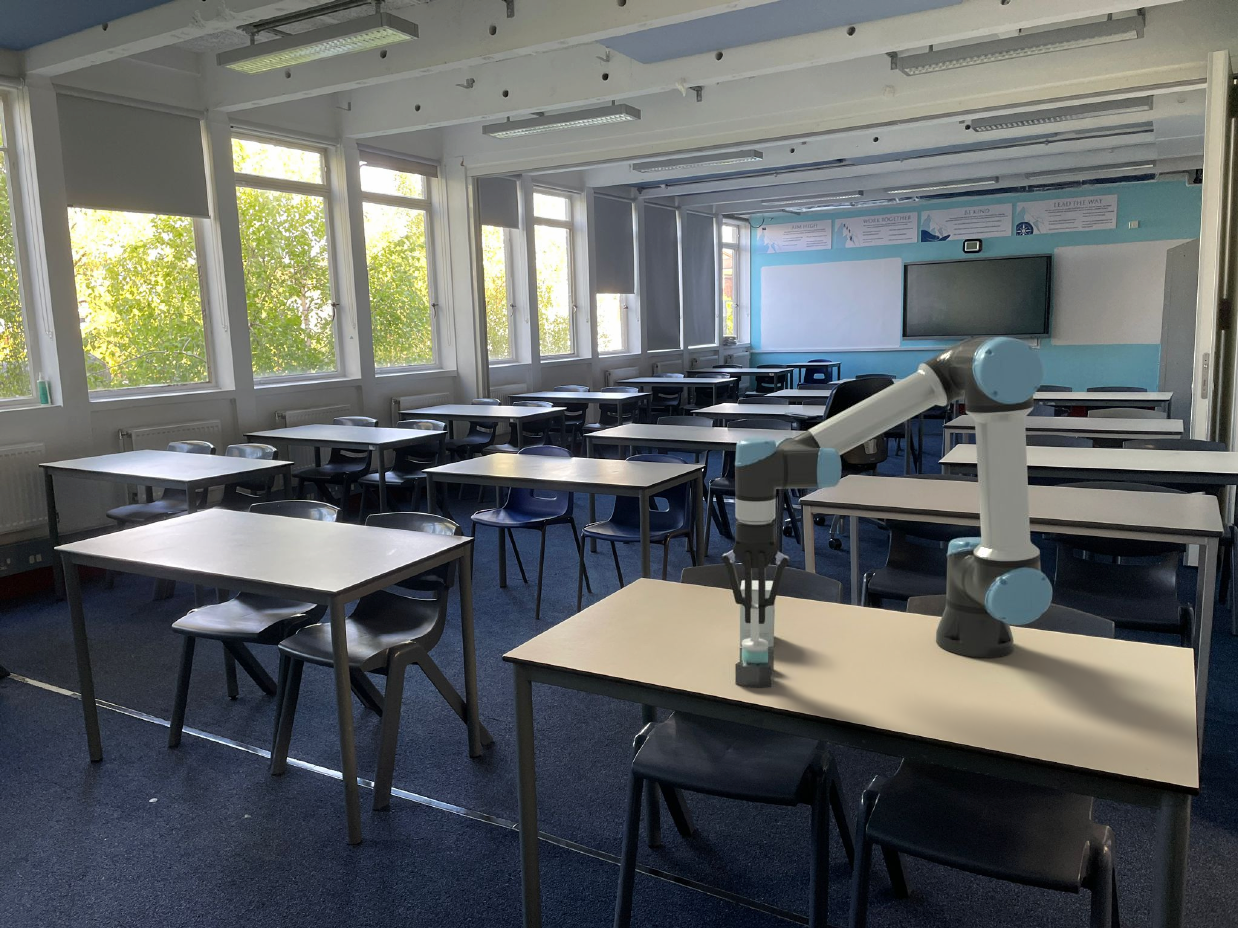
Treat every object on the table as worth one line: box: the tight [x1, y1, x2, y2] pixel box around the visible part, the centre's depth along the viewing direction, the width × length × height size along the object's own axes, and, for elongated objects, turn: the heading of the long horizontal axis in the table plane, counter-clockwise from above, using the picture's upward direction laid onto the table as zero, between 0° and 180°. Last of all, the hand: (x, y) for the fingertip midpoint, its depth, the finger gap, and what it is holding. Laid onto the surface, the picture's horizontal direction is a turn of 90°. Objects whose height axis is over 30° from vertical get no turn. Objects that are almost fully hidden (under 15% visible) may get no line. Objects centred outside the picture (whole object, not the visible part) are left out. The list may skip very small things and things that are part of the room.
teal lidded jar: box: [741, 638, 769, 663], centre depth 167 cm, size 5×5×7 cm
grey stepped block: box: [734, 647, 775, 689], centre depth 168 cm, size 7×11×4 cm, turn 167°
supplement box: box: [739, 579, 776, 648], centre depth 187 cm, size 7×7×13 cm
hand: (755, 638), depth 167 cm, fingers closed
